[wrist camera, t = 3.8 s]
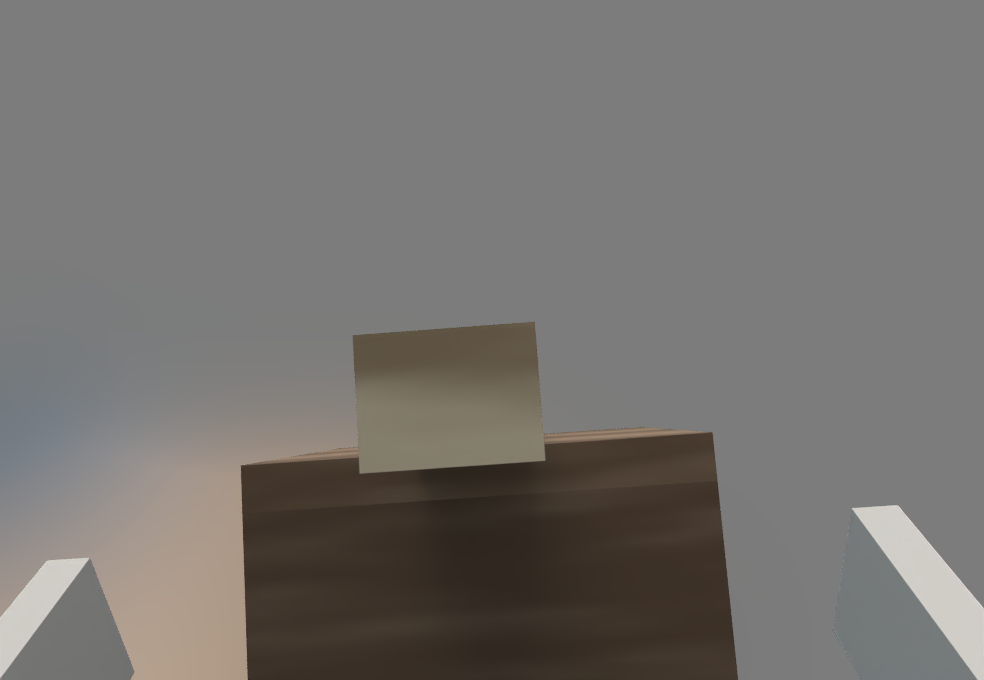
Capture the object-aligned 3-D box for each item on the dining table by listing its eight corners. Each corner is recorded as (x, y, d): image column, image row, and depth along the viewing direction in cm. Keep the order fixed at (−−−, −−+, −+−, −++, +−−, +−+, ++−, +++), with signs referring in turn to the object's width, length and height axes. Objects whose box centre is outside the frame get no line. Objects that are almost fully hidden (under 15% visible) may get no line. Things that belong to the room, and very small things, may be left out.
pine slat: (545, 460, 15) (534, 321, 16) (359, 474, 15) (352, 335, 16) (527, 434, 39) (522, 379, 40) (453, 439, 39) (450, 385, 40)
